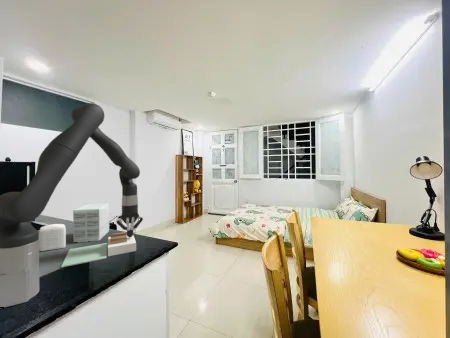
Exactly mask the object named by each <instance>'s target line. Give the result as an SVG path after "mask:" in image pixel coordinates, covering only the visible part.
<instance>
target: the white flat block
mask: <svg viewBox="0 0 450 338" xmlns="http://www.w3.org/2000/svg"><path fill="white" fill-rule="evenodd" d="M126 235H127V233H126ZM136 251H137V242H136V239H135V235H134V234H133V236H132V237H130V238H129V237H127V242H123V243H117V244H111V236H107V257H112V256H116V255H122V254H127V253H132V252H133V253H134V252H136Z"/></svg>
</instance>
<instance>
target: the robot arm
mask: <svg viewBox="0 0 450 338" xmlns="http://www.w3.org/2000/svg"><path fill="white" fill-rule="evenodd" d="M71 118H72V120H73V123H72V124H71V125H70V126H69V127H67V128H66V129H65V130H63V131H62V132H60V133H59V134H57V135H56V137H54V138H53V139H51V141H50V142H49V143H48V145H47V146H46V147H45V148H44V149H43V151H42V152H41V153H40V155H39V157H38V161H37V166H36V172H35V173H34V176H33V178H32V179H31V180H30V181H29V183H28V184H27V186H25V187H24V189H22V191H10V192H9V191H8V192H5V193H3V194H0V307H4V308H7V307H11V306H16V305H20V304H24V303H28V302H29V301H30V299H33V298H34V297H35V296H37V294H39V292H40V251H39V231H38V230H37V229H36V228H35V227H34V226H33V224H32V223H31V222H32V221H34V220H35V219H37V218H39V216H40V215H41V214H42V213H43V212H44V210H45V208H46V207H47V205H48V203H49V201H50V199H51V198H52V196H53V193H54V192H55V190H56V188H57V187H58V185H59V183H60V182H61V180H62V179H63V177H64V176H65V174H66V173H67V171H68V170H69V169H70V167H71V166H72V164H73V163H74V162H75V160H76V159H77V157H78V156H79V154H80V152H81V151H82V150H83V147H85V145H86V143H87V142H88V140H89V138H90V139H91V140H92V141H93V142H95V144H97V146H99V147H100V148H101V150H102V151H103V152H104V153H105V155H106V156H107V157H108V158H109V160H110V161H111V162H112V163H113V164H114V165H115V166H117V167H119V172H118V174H119V181H120V185H121V189H122V192H121V193H122V195H121V215H120V218H119V219H117V220H116V224H117V225H118V226H119V227H120V228H121V229H122V230H124V231H126V234H127V237H129V238H130V237H132V236H133V235H134V230H135V229H137V228H138V227H139V225H140V224H141V223H142V222H143V221H144V218H143V217H142V216H140V215H139V209H138V208H139V198H138V197H139V196H138V186H137V184H136V183H134V180H136V179H137V178H138V177H140V174H141V171H140V168H139V166H138V165H137V164H136V163H135V162H134V161H133V160H131V158H130V157H128V156H127V154H126V153H125V151H124V150H123V148H122V147H121V146H120V145H119V144H118V143H117V142H116V141H115V140H114V139H112V138H111V137H109V136H107V135H106V134H105V133H104V132H103V131H102V130H101V128H99V127H100V126H101V124H103V122H104V120H105V112H104V109H103V108H102V107H101V106H100V105H98V104H97V103H84V104H82V105H79V106H76V107H74V108H73V109H72V111H71ZM136 221H137V222H136ZM135 222H136V223H135ZM123 223H124V224H126V226H125V225H124V224H123Z"/></svg>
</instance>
